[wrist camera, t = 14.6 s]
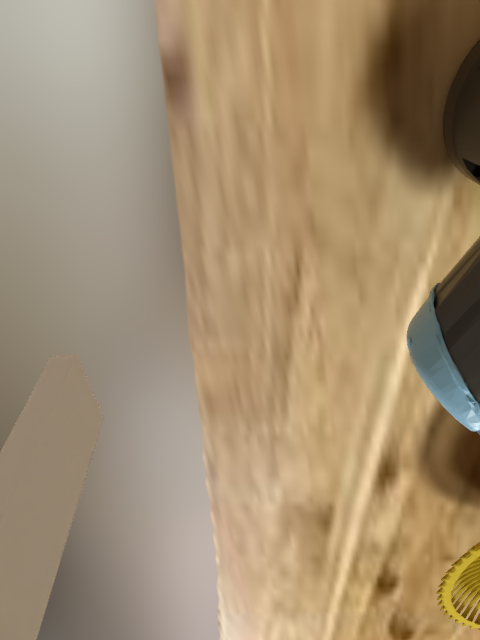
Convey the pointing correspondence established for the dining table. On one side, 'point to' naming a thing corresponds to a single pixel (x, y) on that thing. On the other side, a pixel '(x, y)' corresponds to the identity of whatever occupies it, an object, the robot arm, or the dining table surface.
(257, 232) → the dining table surface
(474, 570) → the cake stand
